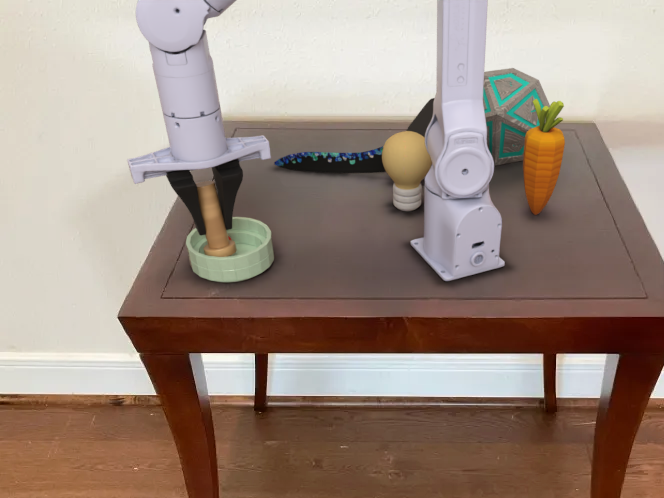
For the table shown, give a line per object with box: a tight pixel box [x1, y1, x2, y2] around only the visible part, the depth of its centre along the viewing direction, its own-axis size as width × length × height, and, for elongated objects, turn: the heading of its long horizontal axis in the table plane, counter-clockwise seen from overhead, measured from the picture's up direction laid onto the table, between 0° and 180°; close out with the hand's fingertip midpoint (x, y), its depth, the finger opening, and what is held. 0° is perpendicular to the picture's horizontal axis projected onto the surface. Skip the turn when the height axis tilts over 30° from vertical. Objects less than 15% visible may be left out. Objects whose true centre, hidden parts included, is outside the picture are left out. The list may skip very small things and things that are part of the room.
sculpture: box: [483, 67, 551, 167], centre depth 105 cm, size 13×14×30 cm
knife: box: [273, 145, 431, 174], centre depth 102 cm, size 31×3×4 cm, turn 75°
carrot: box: [522, 99, 566, 216], centre depth 90 cm, size 5×5×15 cm
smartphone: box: [405, 97, 435, 138], centre depth 108 cm, size 8×1×15 cm
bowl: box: [185, 216, 275, 283], centre depth 85 cm, size 10×10×4 cm
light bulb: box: [382, 130, 432, 212], centre depth 93 cm, size 6×6×10 cm
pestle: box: [195, 180, 237, 257], centre depth 81 cm, size 4×4×8 cm
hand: (214, 228), depth 82 cm, fingers closed on pestle, 2 cm apart
